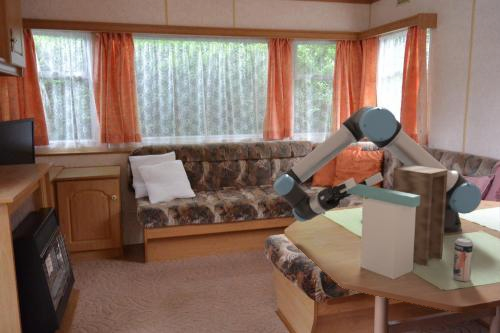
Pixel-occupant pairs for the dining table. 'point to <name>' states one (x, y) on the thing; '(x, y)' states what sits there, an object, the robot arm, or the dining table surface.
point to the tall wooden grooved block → (425, 208)
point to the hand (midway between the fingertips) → (368, 178)
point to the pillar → (387, 238)
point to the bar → (386, 195)
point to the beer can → (462, 259)
